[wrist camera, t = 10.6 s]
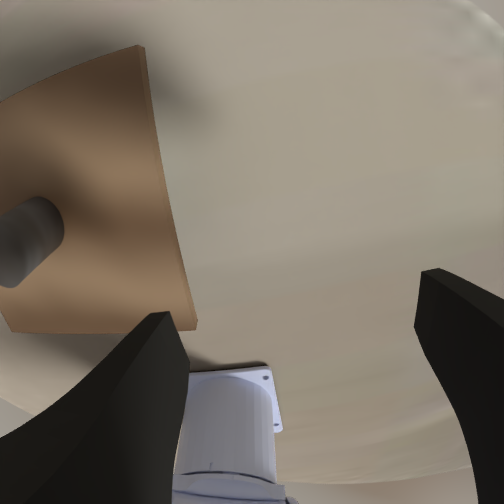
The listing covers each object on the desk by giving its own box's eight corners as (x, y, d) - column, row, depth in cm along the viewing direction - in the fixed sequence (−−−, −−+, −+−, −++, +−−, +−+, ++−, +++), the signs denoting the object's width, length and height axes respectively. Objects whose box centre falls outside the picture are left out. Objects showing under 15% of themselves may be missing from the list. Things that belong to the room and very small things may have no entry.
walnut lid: (197, 320, 16) (184, 383, 12) (17, 324, 17) (-14, 366, 13) (144, 47, 10) (98, 26, 6) (-46, 135, 11) (-97, 152, 7)
